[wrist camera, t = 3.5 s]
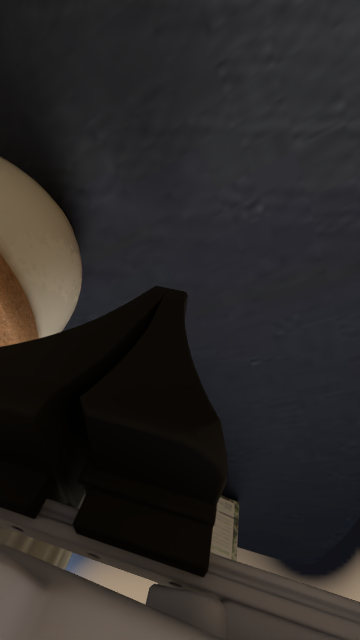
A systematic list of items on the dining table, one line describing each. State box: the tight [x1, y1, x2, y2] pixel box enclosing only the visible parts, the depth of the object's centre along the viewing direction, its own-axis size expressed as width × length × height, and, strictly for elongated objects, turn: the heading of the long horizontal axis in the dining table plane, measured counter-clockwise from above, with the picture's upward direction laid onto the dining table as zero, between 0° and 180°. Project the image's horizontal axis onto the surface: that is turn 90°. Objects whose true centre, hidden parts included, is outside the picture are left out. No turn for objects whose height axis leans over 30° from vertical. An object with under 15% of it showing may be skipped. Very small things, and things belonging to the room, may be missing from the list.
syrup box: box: [158, 495, 239, 586], centre depth 25 cm, size 6×6×14 cm
